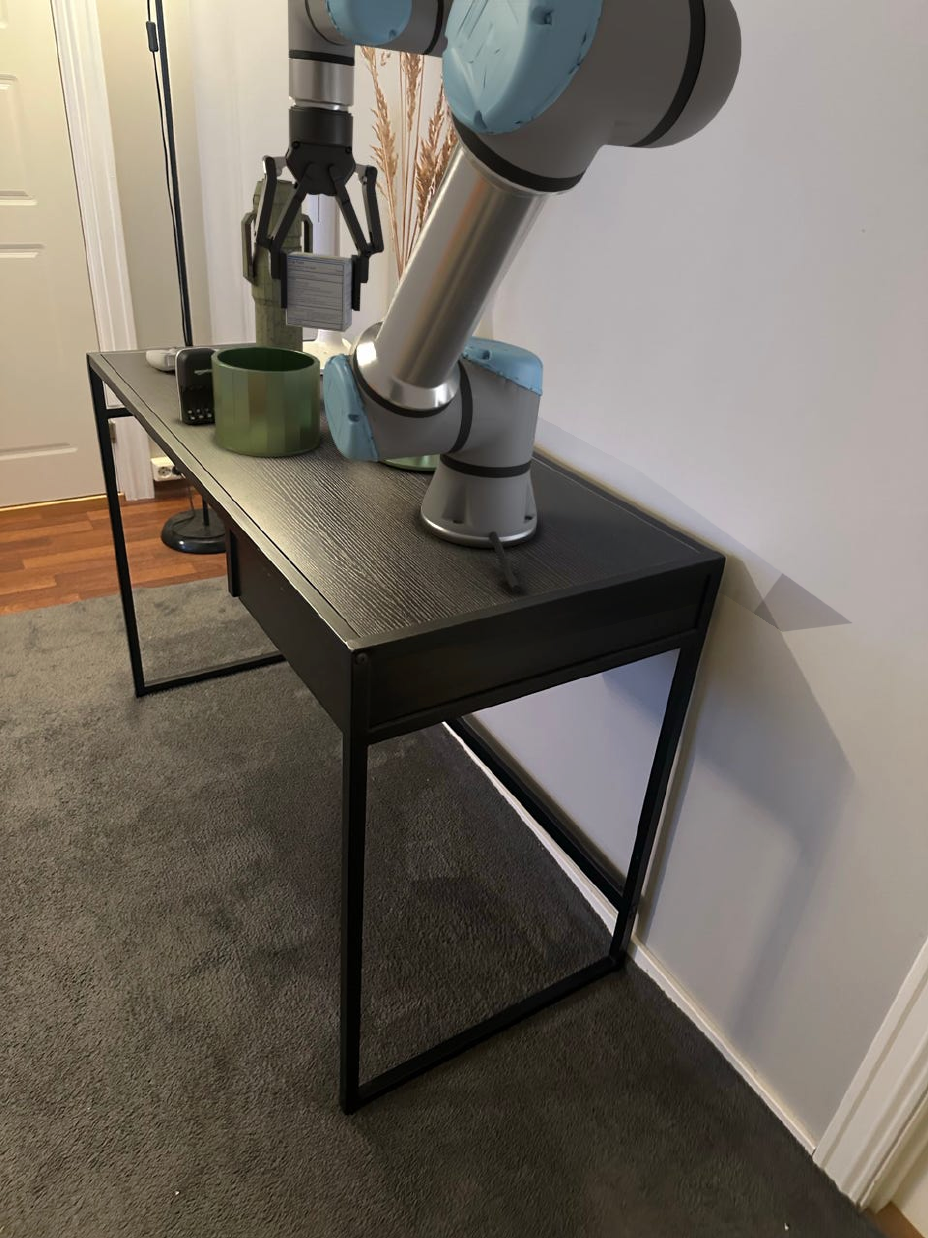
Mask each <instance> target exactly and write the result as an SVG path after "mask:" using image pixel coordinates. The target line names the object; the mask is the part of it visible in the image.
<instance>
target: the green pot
mask: <svg viewBox="0 0 928 1238" xmlns="http://www.w3.org/2000/svg"><path fill="white" fill-rule="evenodd" d="M219 350H220V351H217V352H215V353H214V354H213V355H212V356H211V361H212V378H213V396H214V413H215V421H214V427H215V428H214V429H215V437H216V443H217V444H218V445H219V446H220V447H222V448H223V449H226V450H227V451H229V452H232V453H236V454H239V455H245V456H249V457H257V458H259V457H260V458H286V457H293V456H298V455H303V454H306V453H308V452H311V451H313V450H314V449H316V448H317V447H318V446H319V444H320V432H321V431H320V430H321V361H320V360H319V358H318V357H317V356H315V355H313V354H311V353H308V352H305V351H303V352H302V351H299V350H294V349H288V348H281V347H270V346H256V345H244V346H233V347H228V348H227V347H226V348H223V349H219Z"/></svg>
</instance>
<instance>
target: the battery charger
mask: <svg viewBox="0 0 928 1238" xmlns="http://www.w3.org/2000/svg"><path fill="white" fill-rule="evenodd" d="M213 349H214V348H212V347H209V346H197V347H186V348H181V349H179V351H178V352H177V353H176V355H175V369H174V376H175V385H176V386H175V387H176V392H177V393H176V394H177V400H178V417H179V420H180V421H181V422H182V423H186V424H189V425H199V424H207V423H208V424H209V423H213V422H214V423H215V413H214V396H213V378H212V361H211V356H212V355H213V354H214V353H215V352H216V351H214V350H213Z"/></svg>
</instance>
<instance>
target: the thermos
mask: <svg viewBox="0 0 928 1238" xmlns="http://www.w3.org/2000/svg"><path fill="white" fill-rule="evenodd" d="M263 181H264V177H263V178H261V180H257V181H256V185H255V189H254V193H253V197H252V209H251V212H246V213H244V216H243V218H242V220H241V221H240V230H241V231H240V232H241V233H240V234H241V256H242V259H241V260H242V261H241V262H242V277H243V278H244V279H245V280H246V281H247V282H248V283H250V284H251V296H252V299H253V301H254V316H255V318H254V319H255V321H254V323H255V346H270V347H281V348H288V349H294V350H299V351H302V352H304V327H297V326H288V325H286V309H281V308H280V306H279V305H278V279H272V278H271V277H270V274H269V252H268V249H266V248H264V247H262V246H259V245H258V244H257V243H256V242H255V241H254V242H252V226H253V231H254V230H255V225H256V219H257V214H258V208H259V203H260V197H261V192H262V186H263ZM293 185H294V183H293V181H292V180H288V179H281V178H280V179H279V178H277V185H276V191H275V196H274V201H273V207H272V212H271V217H270V222H269V228H268V233H267V237H269V238H270V237H271V235H272V233H273V231H274V229H275V226H276V224H277V222H278V220H279V218H280V215H281V213H282V211H283V209H284V207H285V204H286V202H287V200H288V198H289V196H290V192H291V189H292V187H293ZM302 206H303V203H302V204H301V206H300V208H299V210H298V213H297V215H296V217H295V219H294V221H293V223H292V226H291V228H290V230H289V232H288V234H287V236H286V239H285V241H284V243H283V245H282V247H281V249H280V250H282V251H284V252H285V253H286V254H287V255H289V254H290V253H293V252H305V253H314V223H313V221H312V220H311V217H310V216H309V214H306V213H303V207H302ZM252 223H253V225H252ZM302 236H303V246H302V245H301V244H302V243H301V242H302V241H301V240H302V239H301V238H302ZM252 243H253V244H252ZM252 245H253V246H252Z"/></svg>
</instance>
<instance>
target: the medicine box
mask: <svg viewBox="0 0 928 1238" xmlns="http://www.w3.org/2000/svg"><path fill="white" fill-rule="evenodd" d="M352 281H353V259H352V258H351V257H346V256H340V255H339V256H338V255H331V254H330V255H329V254H322V253H315V252H313V253H305V252H304V251H302V252H293V253H290V254H289V255H287V309H286V325H288V326H297V327H303V328H307V329H315V330H323V331H331V332H337V333H345V332H346V331H348V329H349V328H351V326H352V325H353V309H352Z"/></svg>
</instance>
